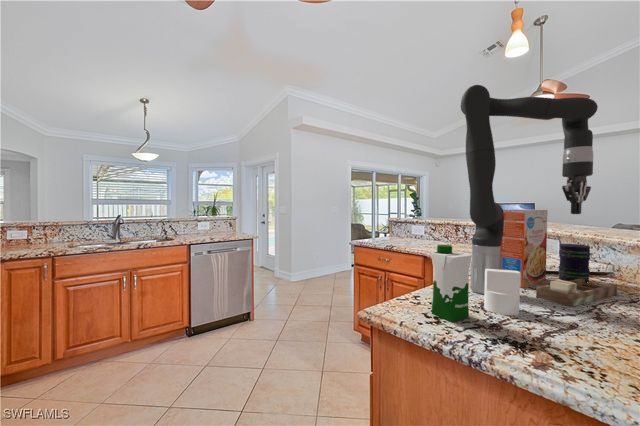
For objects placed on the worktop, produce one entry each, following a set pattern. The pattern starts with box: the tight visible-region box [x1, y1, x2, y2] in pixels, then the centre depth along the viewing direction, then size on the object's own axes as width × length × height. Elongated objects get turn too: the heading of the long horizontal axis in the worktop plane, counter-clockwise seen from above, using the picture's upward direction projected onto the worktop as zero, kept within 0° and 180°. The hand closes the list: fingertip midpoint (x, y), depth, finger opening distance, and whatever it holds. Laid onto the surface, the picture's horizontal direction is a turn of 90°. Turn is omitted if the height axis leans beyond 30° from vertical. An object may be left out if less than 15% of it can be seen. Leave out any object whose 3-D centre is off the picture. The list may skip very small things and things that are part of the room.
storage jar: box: [558, 243, 591, 283], centre depth 120 cm, size 10×10×15 cm
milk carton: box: [430, 244, 472, 323], centre depth 81 cm, size 9×9×20 cm
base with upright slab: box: [483, 269, 521, 316], centre depth 86 cm, size 9×9×12 cm
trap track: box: [535, 278, 618, 308], centre depth 99 cm, size 30×10×4 cm, turn 114°
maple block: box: [549, 279, 577, 294], centre depth 95 cm, size 5×5×4 cm
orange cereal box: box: [501, 209, 548, 290], centre depth 118 cm, size 23×8×30 cm, turn 124°
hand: (575, 214), depth 95 cm, fingers closed
